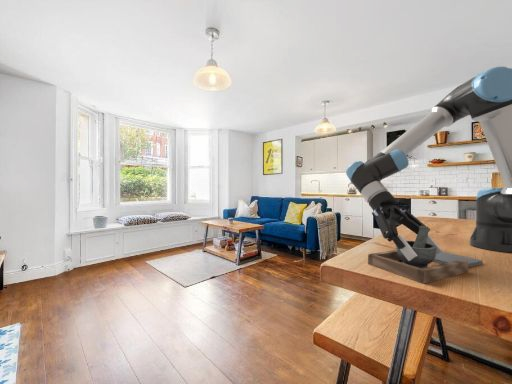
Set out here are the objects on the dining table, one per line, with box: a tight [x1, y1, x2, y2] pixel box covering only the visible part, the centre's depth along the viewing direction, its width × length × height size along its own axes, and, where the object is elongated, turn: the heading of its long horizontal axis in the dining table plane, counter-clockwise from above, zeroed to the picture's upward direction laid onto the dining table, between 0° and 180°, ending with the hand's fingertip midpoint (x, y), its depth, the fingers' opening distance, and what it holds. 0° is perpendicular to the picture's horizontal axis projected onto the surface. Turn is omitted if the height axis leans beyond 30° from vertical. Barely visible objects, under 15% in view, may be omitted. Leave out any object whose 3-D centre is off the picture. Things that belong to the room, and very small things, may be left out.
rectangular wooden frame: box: [367, 249, 469, 285], centre depth 70 cm, size 20×16×3 cm
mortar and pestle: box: [395, 225, 437, 269], centre depth 69 cm, size 11×9×12 cm
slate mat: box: [432, 250, 483, 268], centre depth 78 cm, size 12×14×1 cm
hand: (426, 255), depth 67 cm, fingers closed on mortar and pestle, 11 cm apart
